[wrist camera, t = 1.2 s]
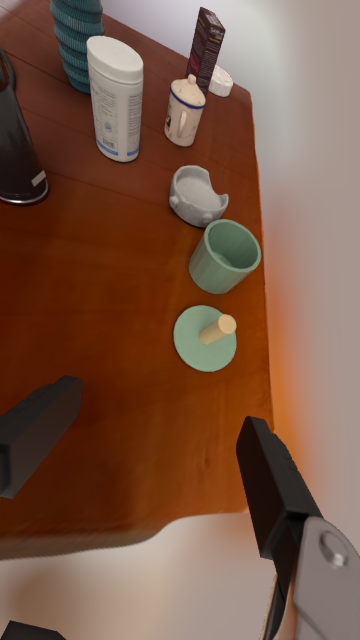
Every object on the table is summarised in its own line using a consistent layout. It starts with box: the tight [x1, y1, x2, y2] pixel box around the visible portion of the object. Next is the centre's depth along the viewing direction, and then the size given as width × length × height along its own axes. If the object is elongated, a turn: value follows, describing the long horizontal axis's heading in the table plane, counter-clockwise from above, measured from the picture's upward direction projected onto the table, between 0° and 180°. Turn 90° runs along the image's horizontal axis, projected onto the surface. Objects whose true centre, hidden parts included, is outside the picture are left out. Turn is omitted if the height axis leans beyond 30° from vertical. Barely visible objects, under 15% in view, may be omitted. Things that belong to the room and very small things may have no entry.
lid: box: [173, 306, 236, 372], centre depth 32 cm, size 12×12×9 cm
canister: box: [189, 219, 261, 294], centre depth 38 cm, size 11×11×8 cm
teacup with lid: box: [164, 74, 205, 146], centre depth 49 cm, size 12×9×12 cm
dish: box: [169, 166, 228, 227], centre depth 44 cm, size 14×14×5 cm
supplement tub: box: [87, 36, 143, 162], centre depth 39 cm, size 10×10×15 cm
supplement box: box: [185, 7, 225, 98], centre depth 56 cm, size 9×5×16 cm, turn 18°
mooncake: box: [208, 65, 233, 97], centre depth 70 cm, size 12×12×4 cm
